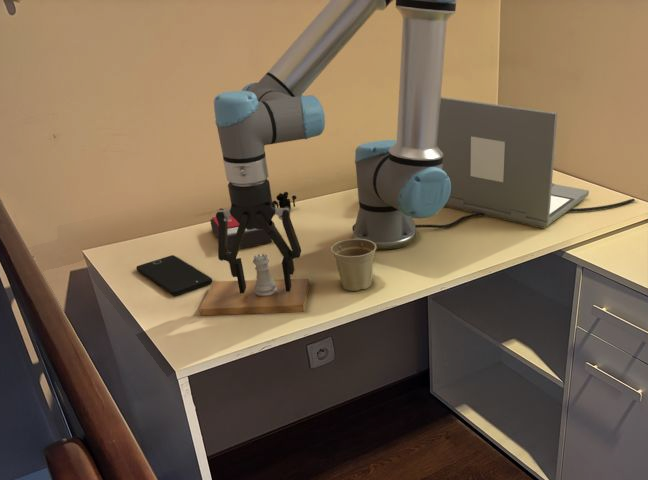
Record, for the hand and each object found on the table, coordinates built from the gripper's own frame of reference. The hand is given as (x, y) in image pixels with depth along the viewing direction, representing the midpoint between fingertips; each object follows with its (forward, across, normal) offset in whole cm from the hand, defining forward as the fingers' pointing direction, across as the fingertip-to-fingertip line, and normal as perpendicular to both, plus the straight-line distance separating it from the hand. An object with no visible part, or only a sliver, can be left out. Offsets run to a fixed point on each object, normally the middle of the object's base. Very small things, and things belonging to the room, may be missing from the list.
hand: (266, 289), depth 139 cm
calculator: (+2, -11, +34) cm, 36 cm away
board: (+2, -2, 0) cm, 3 cm away
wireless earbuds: (+2, -3, +51) cm, 51 cm away
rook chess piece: (+1, 0, 0) cm, 1 cm away
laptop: (+2, +58, +52) cm, 78 cm away
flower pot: (+2, +18, +5) cm, 19 cm away
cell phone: (+2, -22, +12) cm, 25 cm away
